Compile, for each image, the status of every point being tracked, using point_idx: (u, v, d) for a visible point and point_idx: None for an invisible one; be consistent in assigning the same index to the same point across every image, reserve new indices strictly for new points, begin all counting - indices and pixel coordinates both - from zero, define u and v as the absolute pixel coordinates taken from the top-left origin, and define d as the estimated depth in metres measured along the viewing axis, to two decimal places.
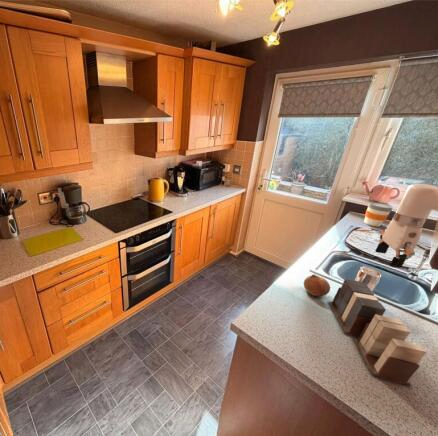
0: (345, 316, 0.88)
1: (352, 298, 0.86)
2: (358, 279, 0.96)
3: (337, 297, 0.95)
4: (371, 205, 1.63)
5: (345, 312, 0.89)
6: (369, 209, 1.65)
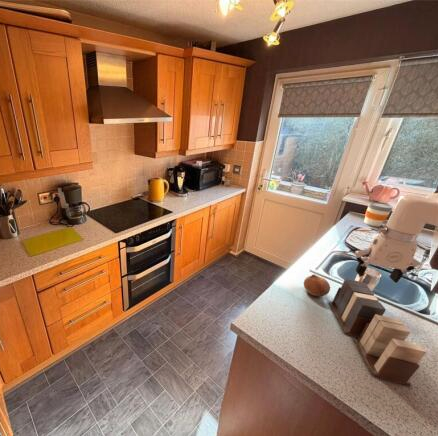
0: (345, 316, 0.88)
1: (352, 298, 0.86)
2: (358, 279, 0.96)
3: (337, 297, 0.95)
4: (371, 205, 1.63)
5: (345, 312, 0.89)
6: (369, 209, 1.65)
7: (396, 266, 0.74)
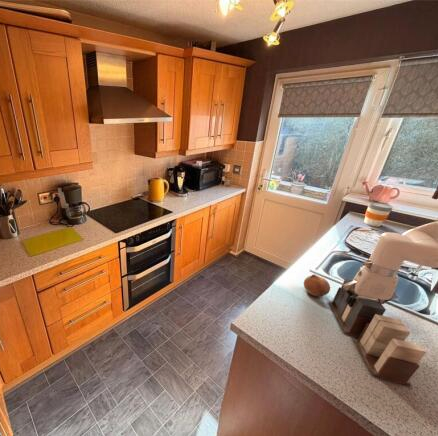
0: (345, 316, 0.88)
1: None
2: None
3: (337, 297, 0.95)
4: (371, 205, 1.63)
5: (345, 312, 0.89)
6: (369, 209, 1.65)
7: (379, 297, 0.79)
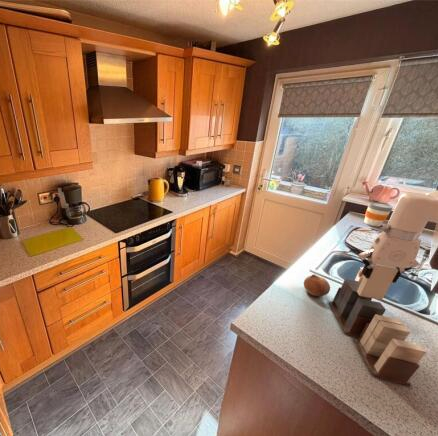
0: (361, 289, 0.82)
1: None
2: (358, 279, 0.96)
3: (337, 297, 0.95)
4: (371, 205, 1.63)
5: (361, 285, 0.82)
6: (369, 209, 1.65)
7: (399, 265, 0.73)
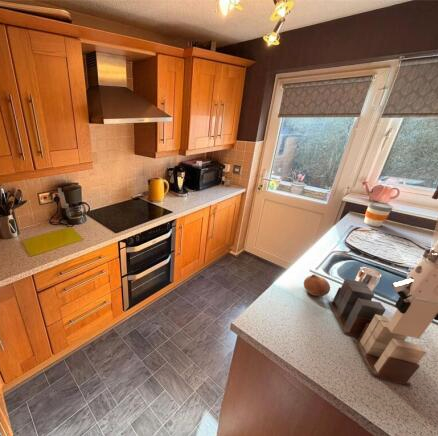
0: (393, 325, 0.68)
1: None
2: (358, 279, 0.96)
3: (337, 297, 0.95)
4: (371, 205, 1.63)
5: (393, 320, 0.68)
6: (369, 209, 1.65)
7: None
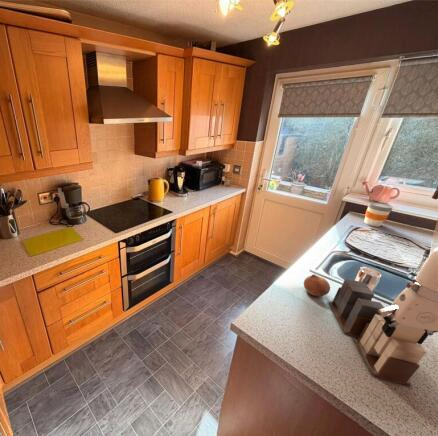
0: (380, 347, 0.72)
1: None
2: (358, 279, 0.96)
3: (337, 297, 0.95)
4: (371, 205, 1.63)
5: (379, 342, 0.72)
6: (369, 209, 1.65)
7: (428, 327, 0.63)
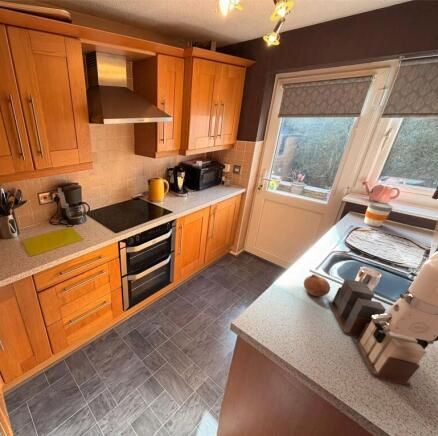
0: (374, 356, 0.74)
1: None
2: (358, 279, 0.96)
3: (337, 297, 0.95)
4: (371, 205, 1.63)
5: (374, 351, 0.74)
6: (369, 209, 1.65)
7: (421, 337, 0.65)
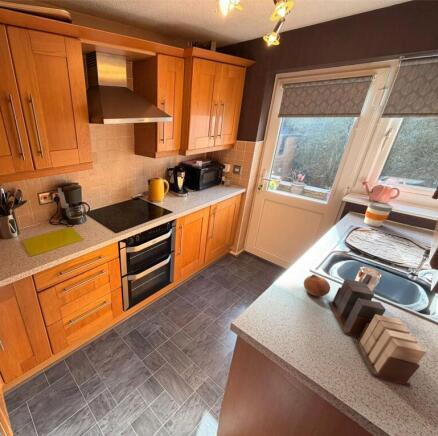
0: (374, 356, 0.74)
1: (383, 336, 0.71)
2: (358, 279, 0.96)
3: (337, 297, 0.95)
4: (371, 205, 1.63)
5: (374, 351, 0.74)
6: (369, 209, 1.65)
7: None
